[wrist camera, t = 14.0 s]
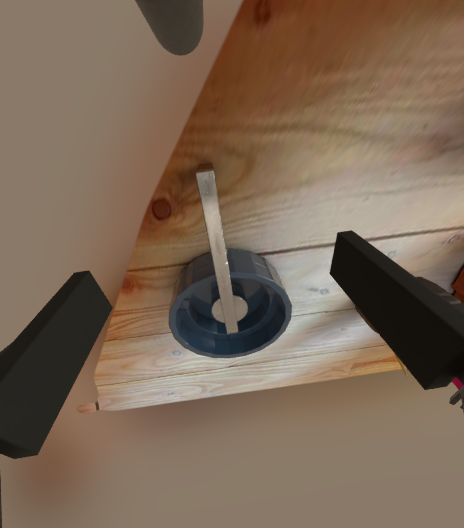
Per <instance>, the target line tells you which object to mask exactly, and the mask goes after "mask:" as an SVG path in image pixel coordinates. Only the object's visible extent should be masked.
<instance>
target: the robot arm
mask: <svg viewBox="0 0 464 528" xmlns="http://www.w3.org/2000/svg"><path fill="white" fill-rule="evenodd" d="M330 275H331V276H332V277H333V278H334V280H335V281H336V282H337V283H338V285H339V286H340V287H341V288H342V289H343V291H344V292H345V293H346V294H347V296H348V297H349V298H350V299H351V300H352V302H353V303H354V304H355V305H356V307H357V308H358V309H359V310H360V311H361V313H362V314H363V315H364V316H365V318H366V319H367V320H368V321H369V322H370V324H371V325H372V326H373V327H374V329H375V330H376V331H377V332H378V333H379V335H380V336H381V337H382V338H383V340H384V341H385V342H386V343H387V344H388V346H389V347H390V348H391V349H392V351H393V352H394V353H395V354H396V355H397V357H398V358H399V359H400V360H401V361H402V363H403V364H404V365H405V366H406V368H407V369H408V370H409V371H410V372H411V374H412V375H413V376H414V377H415V379H416V380H417V381H418V382H419V383H420V385H421V386H422V387H423V388H424V390H428V389H434V388H440V387H446V386H448V385H449V383H451V381H452V380H453V379H454V378H455V377H456V378H457V379H458V380H459V381H460V382H461V383H462V384H463V386H462V387H461V388H460V389H459V390H458V391H457V392H456V393H455V394H454V395H453V396H452V397H451V398H450V402H449V403H450V404H452V405H454V404H456V403H457V402H458V401H459V400H460V399H462V406H461V407H460V408H462V409H463V411H464V303H461V301H460V300H459V299H457V298H456V297H454V296H453V295H450V294H449V292H447V291H446V290H444V289H443V288H441V287H440V286H439V285H437V284H435V283H433V282H431V281H429V280H426V279H424V278H422V277H414V276H413V275H412V274H410V273H409V272H407V271H406V270H405V269H403V268H402V267H401V266H399V265H398V264H397V263H395V262H394V261H393V260H391V259H390V258H388V257H387V256H386V255H384V254H383V253H382V252H380V251H379V250H378V249H376V248H375V247H374V246H372V245H371V244H369V243H368V242H367V241H365V240H364V239H363V238H361V237H360V236H359V235H357V234H356V233H355V232H353V231H352V230H351V231H345V232H338V233H337V238H336V243H335V248H334V254H333V259H332V264H331V269H330ZM112 308H113V307H112V306H111V304H110V303H109V301H108V299H107V298H106V296H105V295H104V293H103V292H102V290H101V288H100V287H99V285H98V284H97V282H96V281H95V279H94V277H93V276H92V274H91V273H90V271H83V272H76V273H74V274H73V275H72V276H71V277H70V278H69V280H68V281H67V282H66V283H65V284H64V285H63V286H62V287H61V288H60V290H59V291H58V292H57V293H56V294H55V295H54V296H53V297H52V299H51V300H50V301H49V302H48V303H47V304H46V305H45V307H44V308H43V309H42V310H41V311H40V312H39V313H38V314H37V316H36V317H35V318H34V319H33V320H32V321H31V322H30V323H29V325H28V326H27V327H26V328H25V329H24V330H23V331H22V332H21V334H20V335H19V336H18V337H17V338H16V339H15V340H14V342H12V343H11V344H10V345H9V346H7V347H6V348H5V349H4V350H2V351H1V352H0V454H3V455H5V456H8V457H10V458H13V459H17V458H22V457H28V456H34V455H38V453H39V451H40V449H41V447H42V445H43V443H44V441H45V439H46V437H47V435H48V433H49V431H50V430H51V427H52V426H53V424H54V421H55V420H56V418H57V416H58V414H59V412H60V410H61V408H62V406H63V404H64V402H65V400H66V398H67V396H68V394H69V392H70V390H71V388H72V386H73V384H74V382H75V380H76V379H77V376H78V375H79V373H80V371H81V369H82V367H83V365H84V363H85V361H86V359H87V357H88V355H89V353H90V351H91V349H92V347H93V345H94V343H95V341H96V339H97V337H98V335H99V333H100V332H101V329H102V327H103V326H104V323H105V322H106V320H107V318H108V316H109V314H110V312H111V310H112ZM0 479H1V478H0ZM1 515H2V513H1V480H0V528H2V516H1Z"/></svg>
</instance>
